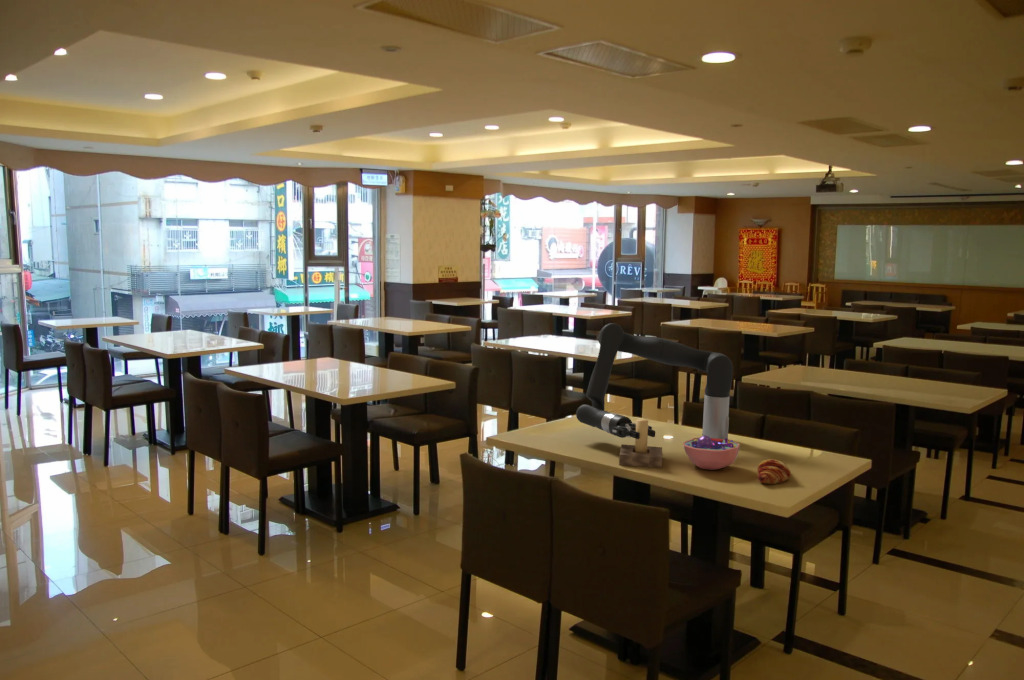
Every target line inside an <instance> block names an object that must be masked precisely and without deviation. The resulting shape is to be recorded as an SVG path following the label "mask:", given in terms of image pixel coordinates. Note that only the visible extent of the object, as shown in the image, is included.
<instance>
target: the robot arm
mask: <svg viewBox="0 0 1024 680" xmlns="http://www.w3.org/2000/svg"><path fill="white" fill-rule="evenodd" d="M597 340H598V343H599V351H598V355H597V358H596V361H595V365H594V368H593V370H592V373H591V375H590V379H589V382H588V386H587V389H586V392H585V393H586V394H585V396H586V398H587V399H588V400H589V401H590V402H591V405H589V404H581V405H579V407H577V409H576V412H575V416H576V419H577V420H578V422H580V423H581V424H582V423H583V424H584V425H588V426H589V427H592V428H597V429H598V430H601V431H604V432H606V433H608V434H610V435H613V436H615V437H618V438H622V439H623V438H633V439H639V438H640V433H639V432H636V422H633V421H632V419H630V417H627V416H624V415H623V414H622V415H621V414H620V413H619V414H618V413H615V412H611V411H606V410H605V397H606V393H607V390H608V387H609V383H610V378H611V373H612V368H613V365H614V362H615V359H616V356H617V354H618V352H620V353H626V354H631V355H635V356H638V357H640V358H643V359H648V360H650V361H654V362H656V363H660V364H664V365H669V366H675V367H687V368H692V369H696V370H698V371H701V372H704V373H707V377H706V385H705V388H704V398H703V399H704V400H703V402H704V403H703V415H702V416H703V417H702V436H704V435H706V436H709V437H710V438H715V439H725V438H727V439H728V440H729V427H730V426H729V424H730V423H729V422H730V417H729V414H730V413H729V411H730V396H731V395H730V394H731V389H732V383H733V373H734V372H733V371H734V366H733V362H732V360H731V359H730V358H729V357H728V356H727V355H725V354H724V353H721V352H713V351H708V350H701V349H696V348H693V347H690V346H688V345H685V344H684V343H680V342H677V341H673V340H671V339H666V338H662V337H656V336H642V335H641V336H639V335H634V334H630V333H627V332H625V331H624V330H623V328H622V326H621V325H620V324H617V323H616V322H615V323H614V322H611V323H607V324H605V325H604V326H603V327H602V328H601V330H599V333H598V336H597ZM648 436H649V437H651V438H655V437H656V430H654V429H653V427H652V426H651V425H648Z"/></svg>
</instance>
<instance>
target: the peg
mask: <svg viewBox="0 0 1024 680" xmlns="http://www.w3.org/2000/svg"><path fill="white" fill-rule="evenodd" d="M635 423H636V432H639V433H640V438H639V439H636V438H634V439H635V443H634V444H635V452H637V453H647V446H648V426H649V420H648V419H645V418H639V419H636V420H635Z"/></svg>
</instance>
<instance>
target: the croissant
mask: <svg viewBox="0 0 1024 680" xmlns="http://www.w3.org/2000/svg"><path fill="white" fill-rule="evenodd" d="M756 472H757V479H758V481H759V482H760V483H762V484H769V485H776V484H781V483H784V482H785V481H787V480H788V479H790V478H791V476H792V472H791V469H790V467H788V465H787V464H786V463H784V462H782V461H780V460H779V459H775V458H774V459H773V458H772V459H771V458H769V459H765V460H761V462H760V463H759V464H758V465H757V471H756Z"/></svg>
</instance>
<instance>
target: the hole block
mask: <svg viewBox="0 0 1024 680" xmlns="http://www.w3.org/2000/svg"><path fill="white" fill-rule="evenodd" d="M619 451H620V452H619V457H618V465H619V466H630V467H631V466H634V467H642V466H643V468H656V469H659V468H660V469H662V468H663V447H662V446H648V445H647V453H637V452H635V445H634V444H621V446H620V450H619Z"/></svg>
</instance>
